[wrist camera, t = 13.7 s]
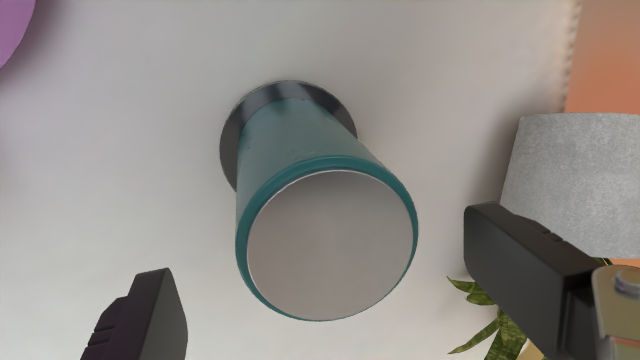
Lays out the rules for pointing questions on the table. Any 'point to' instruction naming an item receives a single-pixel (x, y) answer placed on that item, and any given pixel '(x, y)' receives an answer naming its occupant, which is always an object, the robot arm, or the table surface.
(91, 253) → the table surface
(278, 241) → the can
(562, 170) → the house plant
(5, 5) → the teapot
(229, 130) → the coaster
